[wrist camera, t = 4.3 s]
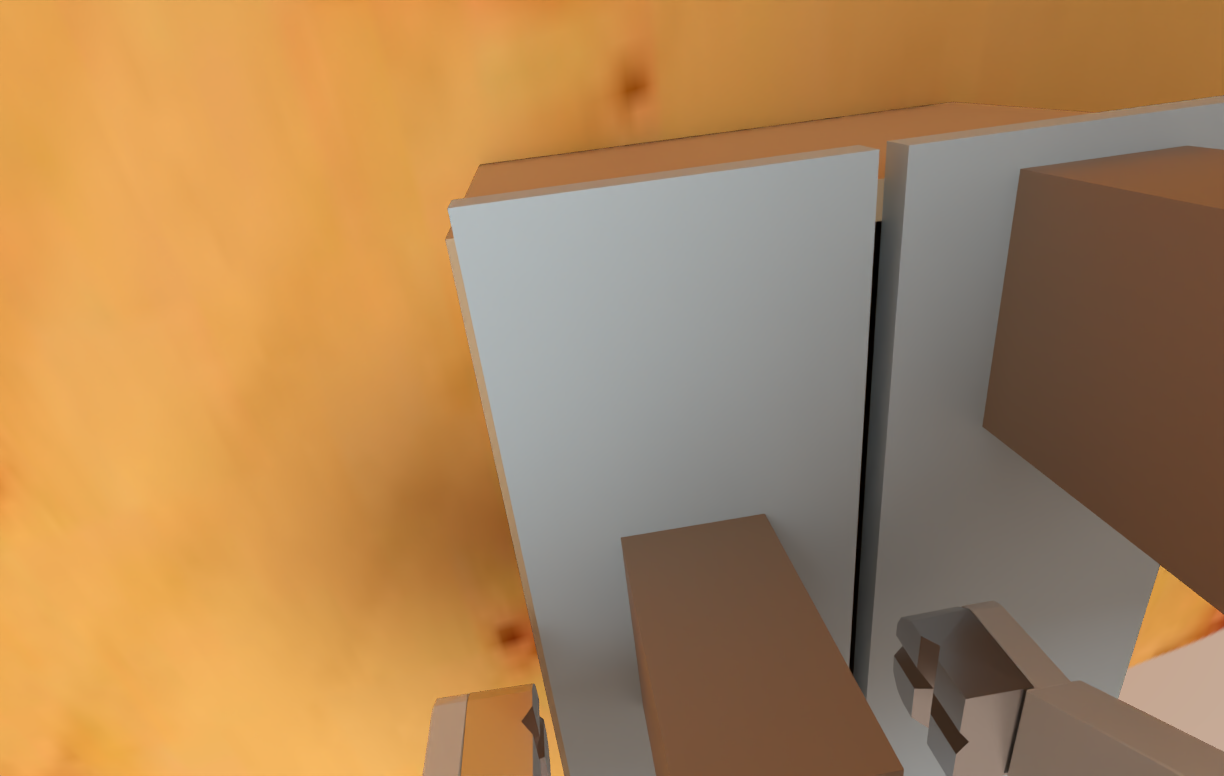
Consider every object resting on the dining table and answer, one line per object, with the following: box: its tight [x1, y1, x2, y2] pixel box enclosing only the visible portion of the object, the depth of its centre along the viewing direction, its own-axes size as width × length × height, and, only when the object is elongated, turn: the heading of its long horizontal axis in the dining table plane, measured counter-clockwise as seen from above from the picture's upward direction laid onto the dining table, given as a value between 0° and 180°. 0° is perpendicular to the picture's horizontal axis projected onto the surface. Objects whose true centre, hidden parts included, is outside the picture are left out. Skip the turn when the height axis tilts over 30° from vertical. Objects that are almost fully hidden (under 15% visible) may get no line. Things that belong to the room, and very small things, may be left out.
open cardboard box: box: [445, 102, 1095, 776], centre depth 16 cm, size 12×14×8 cm
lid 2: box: [853, 95, 1224, 776], centre depth 10 cm, size 6×15×5 cm, turn 7°
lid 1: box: [448, 145, 904, 776], centre depth 10 cm, size 6×15×5 cm, turn 6°
